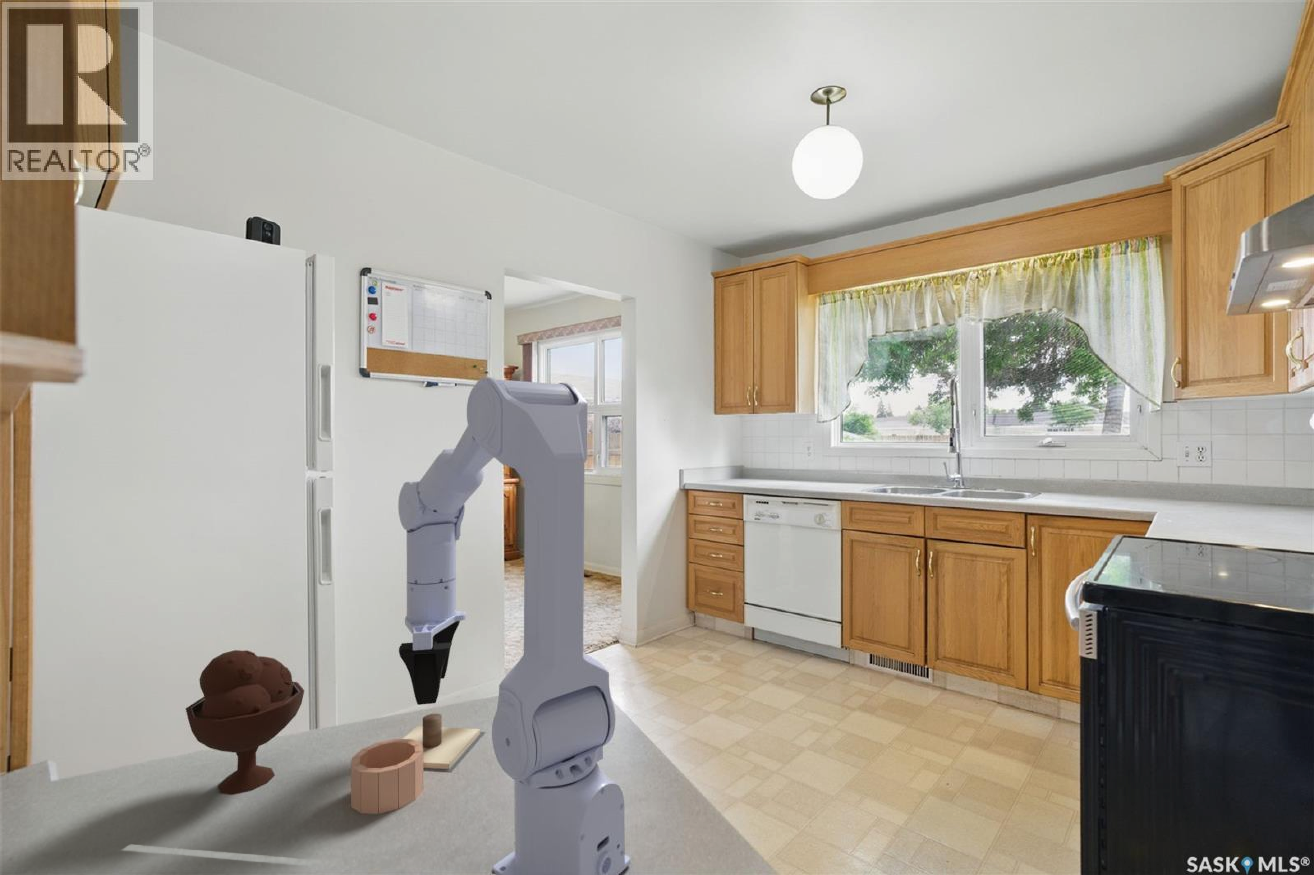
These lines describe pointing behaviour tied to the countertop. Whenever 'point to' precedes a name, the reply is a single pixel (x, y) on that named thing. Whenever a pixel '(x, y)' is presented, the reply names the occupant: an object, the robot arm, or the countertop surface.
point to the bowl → (386, 776)
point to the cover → (441, 741)
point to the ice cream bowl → (243, 712)
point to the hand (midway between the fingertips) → (431, 690)
